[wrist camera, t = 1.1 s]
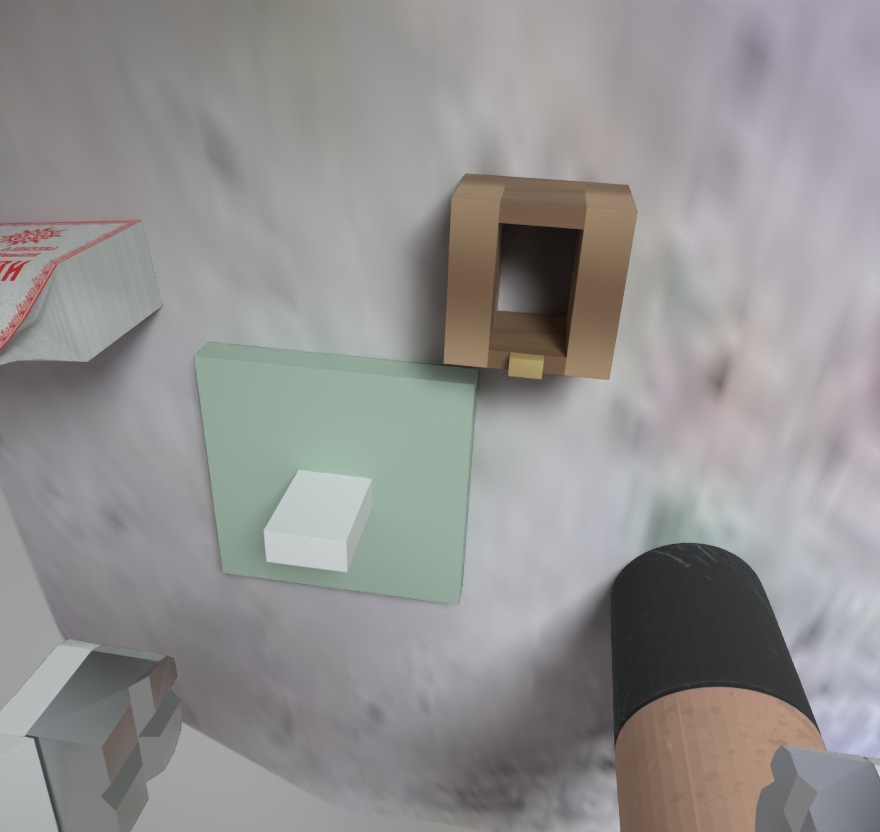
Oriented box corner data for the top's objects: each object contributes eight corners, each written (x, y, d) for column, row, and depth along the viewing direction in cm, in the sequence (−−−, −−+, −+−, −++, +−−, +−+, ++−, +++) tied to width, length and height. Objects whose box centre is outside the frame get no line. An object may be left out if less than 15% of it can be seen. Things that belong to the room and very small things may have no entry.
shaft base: (208, 342, 33) (142, 405, 28) (478, 368, 32) (461, 440, 27) (234, 554, 39) (183, 638, 34) (462, 584, 38) (446, 677, 32)
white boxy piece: (162, 305, 33) (17, 414, 24) (23, 305, 34) (-165, 410, 25) (142, 220, 31) (-24, 305, 22) (-5, 223, 32) (-218, 305, 23)
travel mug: (767, 657, 37) (945, 1232, 20) (609, 658, 39) (645, 1192, 21) (773, 533, 34) (994, 1099, 16) (599, 540, 35) (631, 1063, 18)
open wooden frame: (465, 173, 28) (449, 201, 24) (628, 185, 27) (638, 215, 23) (457, 323, 31) (441, 369, 27) (604, 336, 30) (609, 385, 26)
